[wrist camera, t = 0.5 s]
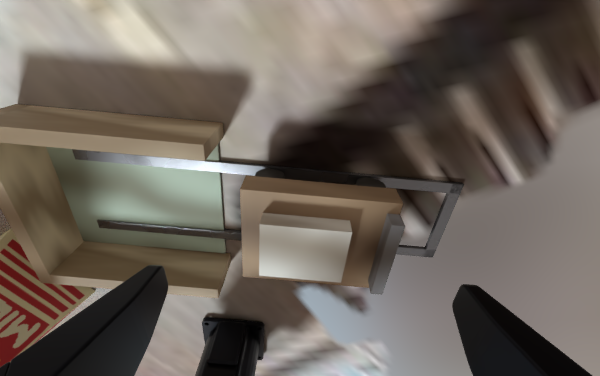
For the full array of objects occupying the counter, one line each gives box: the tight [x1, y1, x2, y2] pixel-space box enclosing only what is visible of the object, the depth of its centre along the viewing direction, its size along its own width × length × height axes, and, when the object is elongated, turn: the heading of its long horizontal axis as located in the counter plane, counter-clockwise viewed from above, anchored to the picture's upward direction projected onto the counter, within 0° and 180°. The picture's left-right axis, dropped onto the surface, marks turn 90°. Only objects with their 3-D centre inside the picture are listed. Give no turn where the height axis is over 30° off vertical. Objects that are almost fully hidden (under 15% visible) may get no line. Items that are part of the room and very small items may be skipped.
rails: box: [72, 149, 464, 257], centre depth 23 cm, size 7×28×1 cm, turn 85°
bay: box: [0, 104, 231, 298], centre depth 21 cm, size 13×14×4 cm
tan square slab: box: [240, 169, 405, 294], centre depth 20 cm, size 8×10×5 cm
